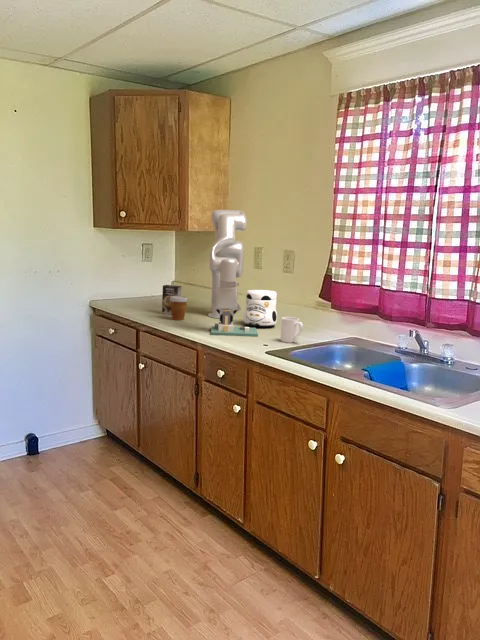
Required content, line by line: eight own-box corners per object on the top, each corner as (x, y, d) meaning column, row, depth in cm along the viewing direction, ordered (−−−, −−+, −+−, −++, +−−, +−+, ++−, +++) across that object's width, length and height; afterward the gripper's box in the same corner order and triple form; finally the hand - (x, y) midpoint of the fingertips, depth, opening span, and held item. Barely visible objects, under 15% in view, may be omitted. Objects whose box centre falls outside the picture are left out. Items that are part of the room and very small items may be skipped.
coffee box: (161, 314, 313) (162, 285, 310) (165, 312, 319) (166, 284, 316) (176, 315, 311) (177, 286, 308) (180, 314, 317) (181, 285, 314)
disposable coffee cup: (171, 321, 293) (172, 298, 291) (167, 318, 302) (167, 295, 300) (189, 320, 297) (190, 298, 295) (184, 317, 305) (184, 295, 303)
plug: (222, 323, 272) (222, 308, 271) (229, 323, 272) (230, 309, 271) (222, 325, 267) (223, 310, 266) (229, 325, 267) (230, 310, 266)
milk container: (247, 329, 281) (248, 293, 278) (240, 322, 298) (241, 289, 295) (280, 329, 285) (282, 294, 282) (272, 323, 301) (273, 289, 298)
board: (211, 328, 278) (211, 320, 278) (255, 330, 279) (256, 321, 279) (210, 334, 263) (211, 326, 262) (257, 336, 263) (258, 327, 263)
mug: (276, 340, 258) (278, 317, 256) (290, 338, 262) (291, 316, 261) (294, 345, 248) (295, 321, 246) (307, 343, 253) (309, 320, 251)
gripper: (244, 284, 271) (243, 322, 274) (210, 283, 270) (209, 321, 273) (245, 286, 263) (243, 325, 266) (210, 285, 263) (208, 323, 266)
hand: (226, 322), depth 270 cm, fingers closed on plug, 3 cm apart
